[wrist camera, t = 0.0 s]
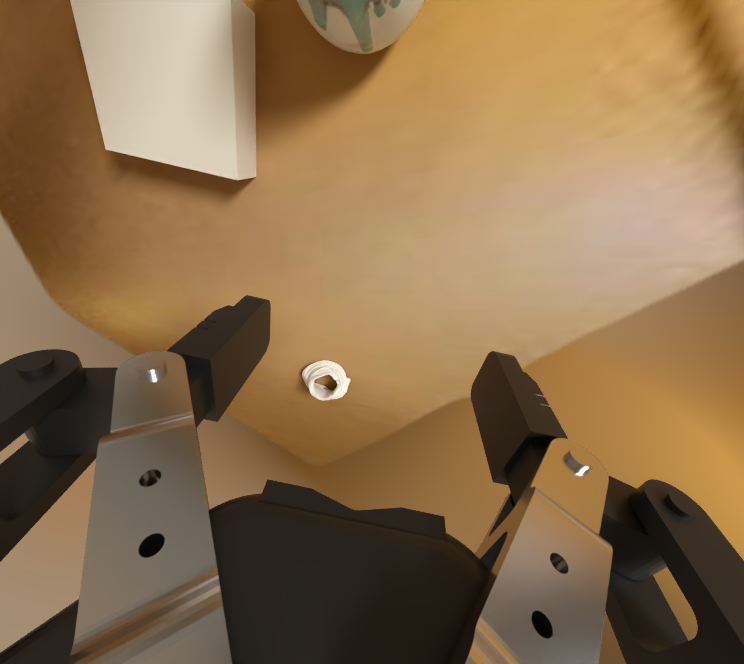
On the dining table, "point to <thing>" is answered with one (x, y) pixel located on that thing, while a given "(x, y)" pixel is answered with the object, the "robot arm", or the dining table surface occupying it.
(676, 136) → the dining table surface
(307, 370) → the whipped cream
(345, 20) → the vase
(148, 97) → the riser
